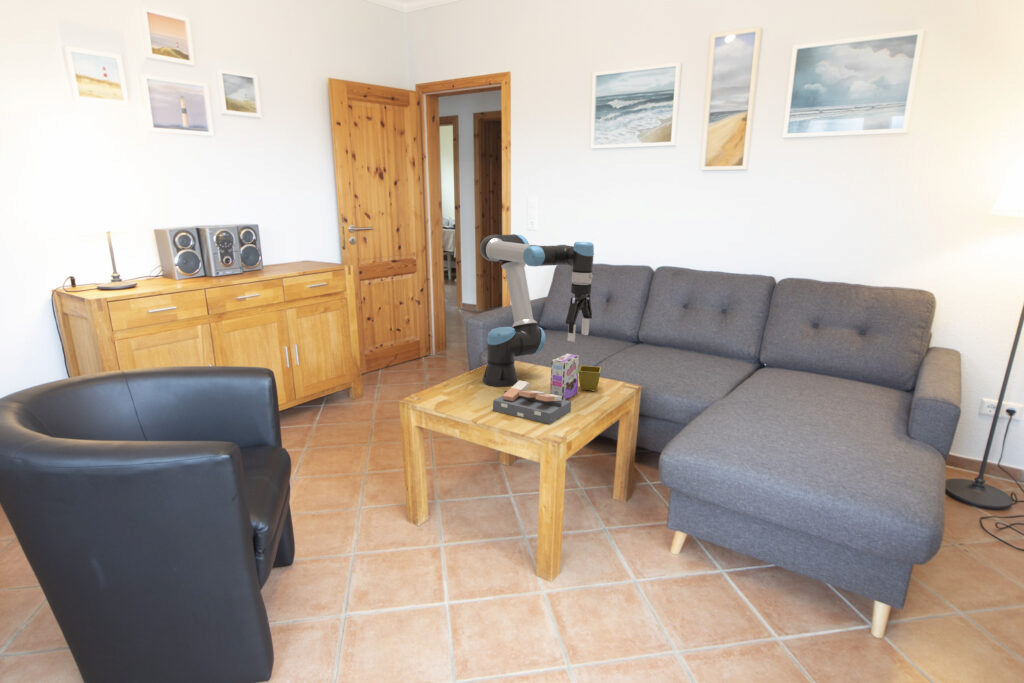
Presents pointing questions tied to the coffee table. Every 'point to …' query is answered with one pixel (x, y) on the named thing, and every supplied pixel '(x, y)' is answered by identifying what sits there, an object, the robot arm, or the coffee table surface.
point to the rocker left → (515, 390)
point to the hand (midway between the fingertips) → (578, 337)
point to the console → (533, 408)
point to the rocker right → (548, 397)
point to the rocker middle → (530, 393)
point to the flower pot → (589, 377)
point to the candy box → (565, 376)
